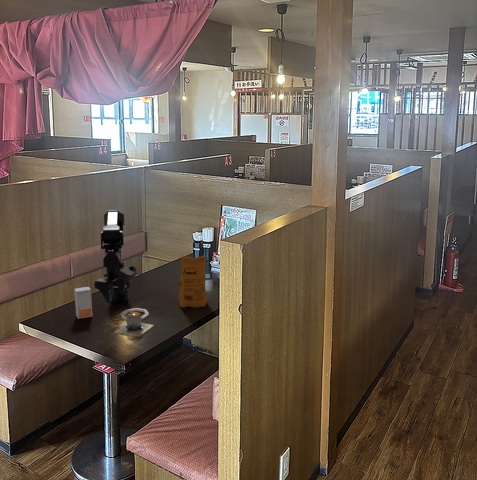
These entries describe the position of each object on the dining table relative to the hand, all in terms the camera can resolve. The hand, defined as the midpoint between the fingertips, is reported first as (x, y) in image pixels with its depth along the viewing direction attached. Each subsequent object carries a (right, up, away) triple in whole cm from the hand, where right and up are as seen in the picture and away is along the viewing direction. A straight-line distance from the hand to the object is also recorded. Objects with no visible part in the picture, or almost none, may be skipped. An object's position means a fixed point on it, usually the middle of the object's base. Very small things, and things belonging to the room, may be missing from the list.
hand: (115, 298), depth 200 cm
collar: (+5, -9, +13) cm, 17 cm away
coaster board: (+7, -12, 0) cm, 14 cm away
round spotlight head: (+7, -12, 0) cm, 14 cm away
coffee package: (+28, -6, +26) cm, 39 cm away
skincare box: (-16, -9, +12) cm, 22 cm away
